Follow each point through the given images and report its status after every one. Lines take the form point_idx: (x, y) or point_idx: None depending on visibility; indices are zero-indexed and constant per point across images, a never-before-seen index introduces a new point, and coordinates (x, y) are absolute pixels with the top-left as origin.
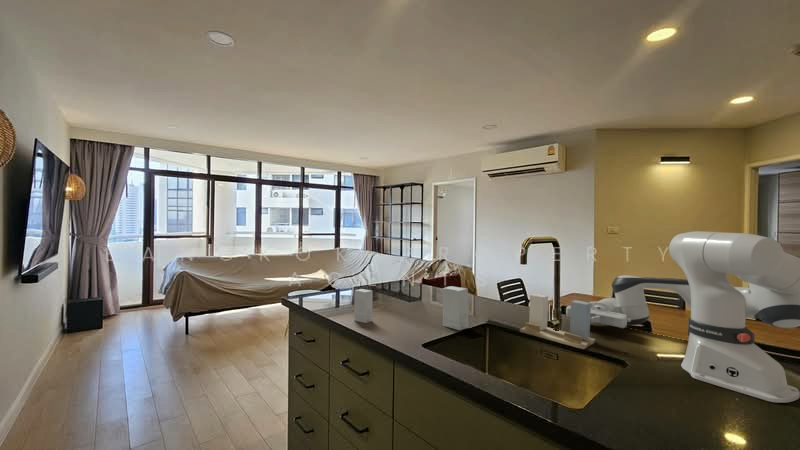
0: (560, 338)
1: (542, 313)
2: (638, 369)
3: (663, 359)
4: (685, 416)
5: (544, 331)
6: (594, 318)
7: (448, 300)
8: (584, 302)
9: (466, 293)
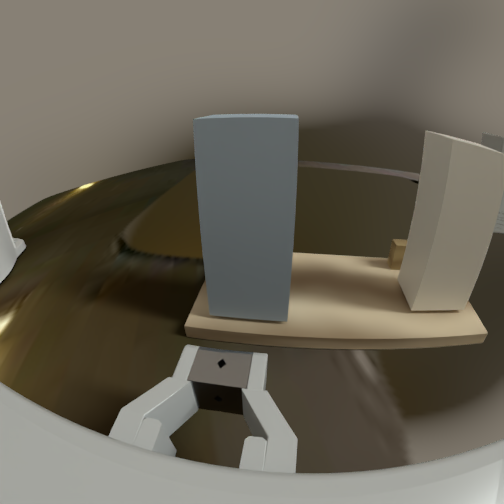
0: (307, 262)
1: (415, 208)
2: (105, 234)
3: (12, 300)
4: (107, 187)
5: (391, 285)
6: (176, 381)
7: None
8: (230, 116)
9: (497, 146)
